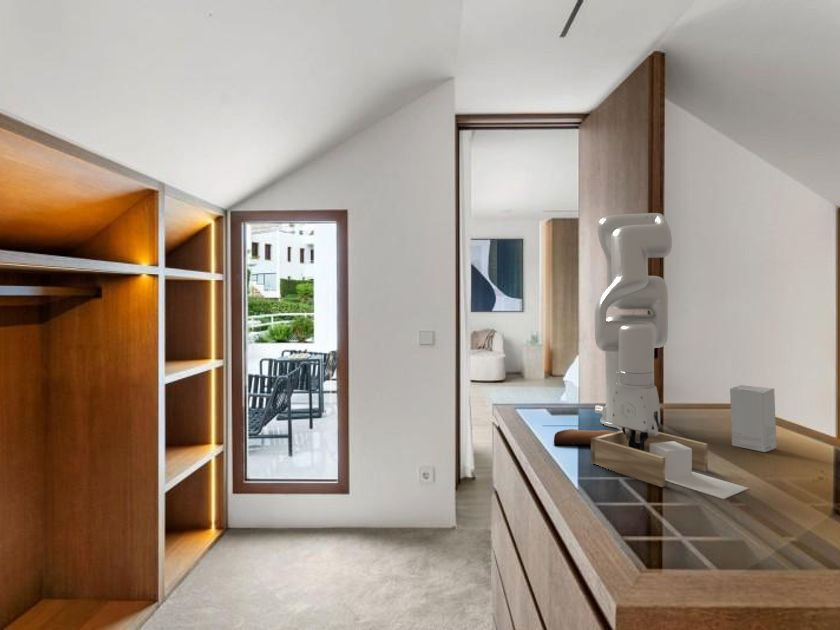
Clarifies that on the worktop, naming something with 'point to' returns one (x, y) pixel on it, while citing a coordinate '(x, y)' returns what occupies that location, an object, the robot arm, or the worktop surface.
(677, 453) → the white cube
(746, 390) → the skincare box
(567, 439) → the sunglasses case
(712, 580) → the worktop surface
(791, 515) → the worktop surface
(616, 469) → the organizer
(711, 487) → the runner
